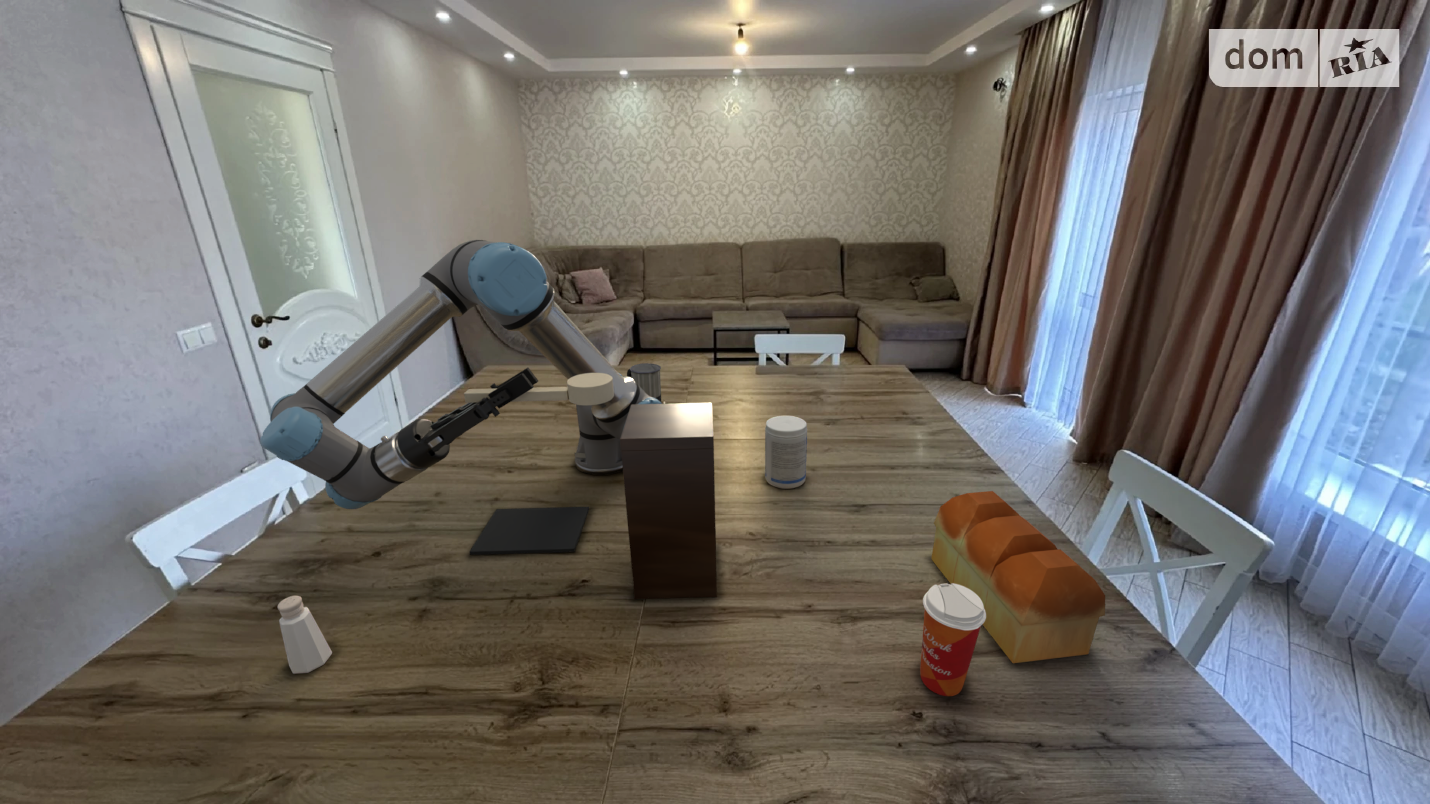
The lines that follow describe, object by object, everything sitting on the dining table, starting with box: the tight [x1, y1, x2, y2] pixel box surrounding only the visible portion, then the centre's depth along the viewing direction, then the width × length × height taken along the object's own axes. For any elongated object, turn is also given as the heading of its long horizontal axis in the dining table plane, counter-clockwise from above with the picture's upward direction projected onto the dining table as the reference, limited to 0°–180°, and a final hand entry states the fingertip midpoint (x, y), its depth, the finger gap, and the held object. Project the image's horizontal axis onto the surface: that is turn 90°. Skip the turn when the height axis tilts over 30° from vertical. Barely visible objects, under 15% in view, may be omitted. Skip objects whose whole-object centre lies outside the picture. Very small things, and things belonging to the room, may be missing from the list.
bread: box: [930, 490, 1106, 664], centre depth 88 cm, size 25×12×15 cm, turn 7°
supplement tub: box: [764, 415, 808, 490], centre depth 127 cm, size 10×10×15 cm
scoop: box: [463, 373, 614, 406], centre depth 87 cm, size 7×23×3 cm, turn 91°
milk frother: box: [626, 362, 663, 404], centre depth 166 cm, size 14×16×15 cm
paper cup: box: [919, 583, 986, 697], centre depth 74 cm, size 8×8×14 cm
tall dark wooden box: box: [620, 402, 718, 600], centre depth 94 cm, size 14×14×30 cm
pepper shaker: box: [277, 595, 333, 675], centre depth 80 cm, size 5×5×11 cm
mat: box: [469, 506, 590, 556], centre depth 112 cm, size 15×20×1 cm
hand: (530, 377), depth 86 cm, fingers closed on scoop, 2 cm apart
